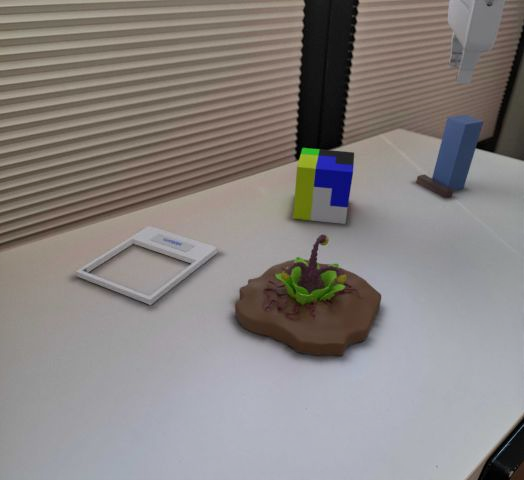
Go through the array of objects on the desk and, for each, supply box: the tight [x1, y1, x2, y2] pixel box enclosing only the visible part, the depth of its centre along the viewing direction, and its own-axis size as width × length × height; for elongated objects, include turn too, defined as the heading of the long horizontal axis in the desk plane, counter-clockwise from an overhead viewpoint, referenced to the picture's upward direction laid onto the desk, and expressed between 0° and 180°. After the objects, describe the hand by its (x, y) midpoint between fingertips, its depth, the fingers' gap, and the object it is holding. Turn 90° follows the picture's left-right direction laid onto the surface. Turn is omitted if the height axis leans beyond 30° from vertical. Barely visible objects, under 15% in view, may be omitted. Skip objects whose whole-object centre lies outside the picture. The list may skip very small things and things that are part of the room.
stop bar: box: [416, 174, 455, 199], centre depth 110 cm, size 2×9×2 cm, turn 29°
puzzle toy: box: [292, 147, 355, 225], centre depth 97 cm, size 10×10×10 cm
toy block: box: [431, 114, 484, 192], centre depth 107 cm, size 5×5×14 cm
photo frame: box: [75, 225, 219, 306], centre depth 83 cm, size 15×1×18 cm
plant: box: [234, 234, 382, 357], centre depth 72 cm, size 20×20×11 cm
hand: (458, 74), depth 73 cm, fingers open, 8 cm apart
